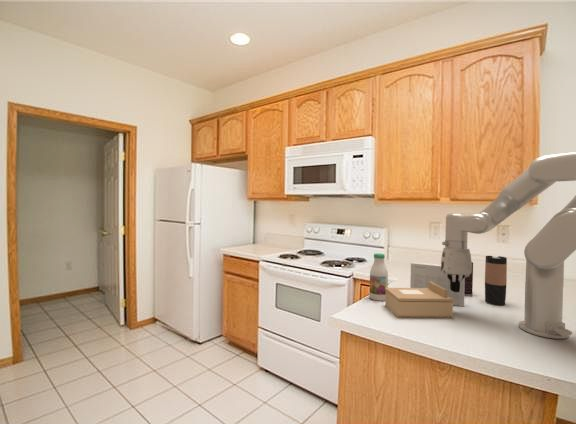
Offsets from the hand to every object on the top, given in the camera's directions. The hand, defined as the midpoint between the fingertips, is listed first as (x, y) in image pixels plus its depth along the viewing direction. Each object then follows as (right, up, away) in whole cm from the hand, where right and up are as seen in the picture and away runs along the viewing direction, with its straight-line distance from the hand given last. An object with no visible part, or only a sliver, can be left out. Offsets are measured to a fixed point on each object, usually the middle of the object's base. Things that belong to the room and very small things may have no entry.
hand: (454, 291), depth 116 cm
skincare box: (0, -8, +14) cm, 16 cm away
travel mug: (+24, -8, +11) cm, 28 cm away
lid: (-15, -2, 0) cm, 15 cm away
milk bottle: (-25, -8, +16) cm, 31 cm away
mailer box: (-15, -8, 0) cm, 17 cm away
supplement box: (+19, -8, +25) cm, 32 cm away
